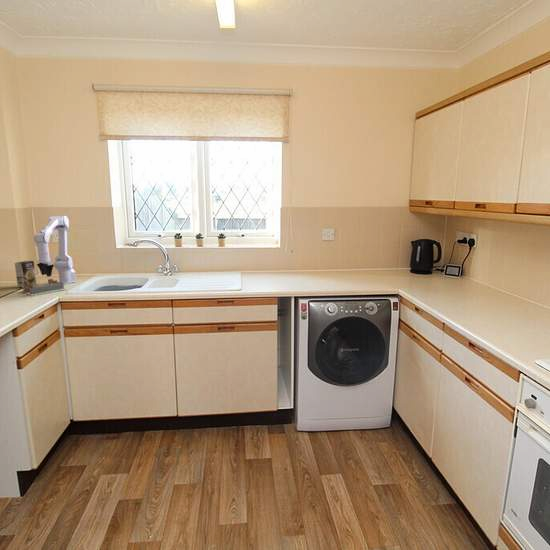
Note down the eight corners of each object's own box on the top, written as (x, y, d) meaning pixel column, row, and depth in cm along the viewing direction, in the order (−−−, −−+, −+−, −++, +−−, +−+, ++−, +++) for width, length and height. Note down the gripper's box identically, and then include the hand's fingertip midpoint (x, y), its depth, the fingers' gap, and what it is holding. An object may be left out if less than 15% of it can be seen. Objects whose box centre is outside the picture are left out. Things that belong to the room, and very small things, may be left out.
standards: (54, 286, 257) (53, 278, 256) (59, 287, 251) (58, 280, 250) (22, 291, 243) (21, 283, 242) (28, 293, 238) (26, 285, 237)
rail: (61, 287, 249) (60, 282, 248) (63, 288, 247) (63, 283, 246) (29, 293, 236) (28, 287, 235) (32, 294, 233) (31, 288, 233)
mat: (61, 287, 252) (61, 286, 251) (67, 289, 246) (67, 288, 246) (26, 294, 237) (26, 293, 236) (31, 296, 231) (31, 295, 231)
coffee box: (26, 288, 251) (22, 263, 248) (17, 287, 253) (13, 262, 249) (37, 285, 260) (34, 260, 257) (28, 284, 261) (25, 260, 258)
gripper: (31, 253, 240) (34, 275, 243) (41, 255, 231) (44, 278, 234) (44, 251, 245) (47, 273, 248) (54, 253, 236) (57, 276, 239)
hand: (46, 275), depth 241 cm, fingers open, 7 cm apart
